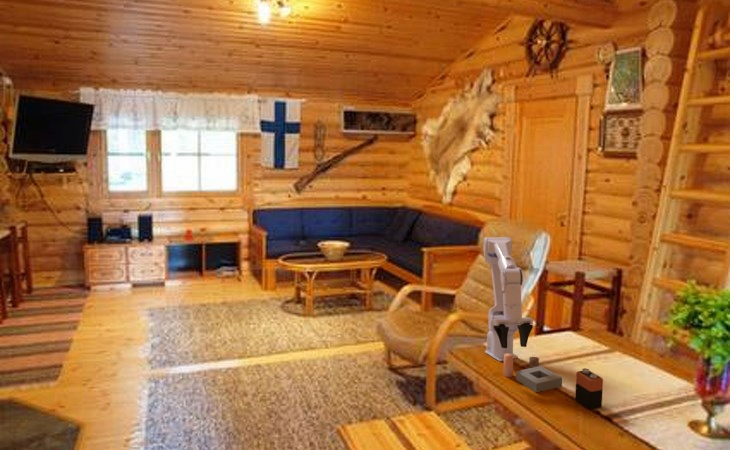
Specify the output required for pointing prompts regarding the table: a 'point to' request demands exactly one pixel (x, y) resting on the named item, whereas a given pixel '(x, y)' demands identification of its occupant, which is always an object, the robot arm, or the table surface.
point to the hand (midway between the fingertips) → (513, 347)
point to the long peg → (508, 365)
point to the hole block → (538, 379)
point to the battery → (589, 389)
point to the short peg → (533, 362)
